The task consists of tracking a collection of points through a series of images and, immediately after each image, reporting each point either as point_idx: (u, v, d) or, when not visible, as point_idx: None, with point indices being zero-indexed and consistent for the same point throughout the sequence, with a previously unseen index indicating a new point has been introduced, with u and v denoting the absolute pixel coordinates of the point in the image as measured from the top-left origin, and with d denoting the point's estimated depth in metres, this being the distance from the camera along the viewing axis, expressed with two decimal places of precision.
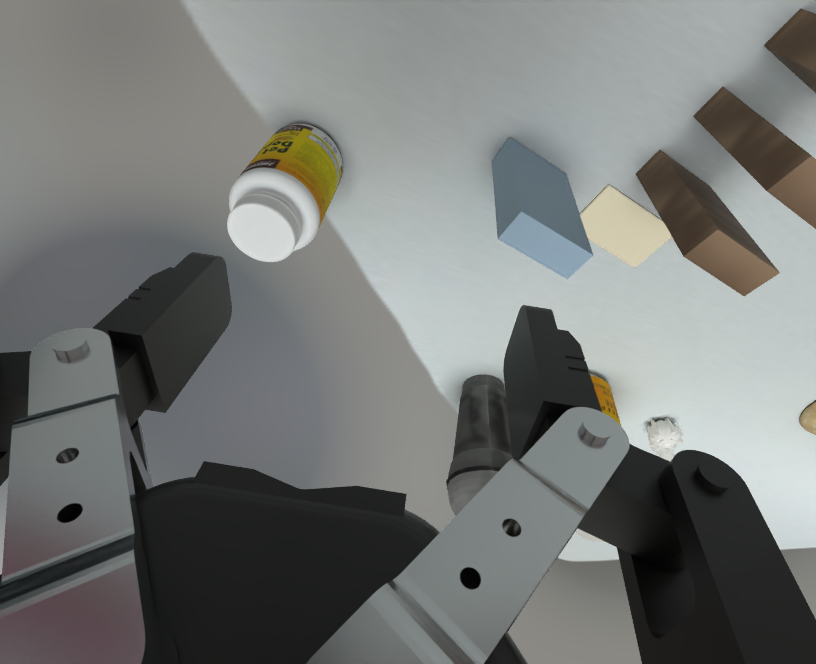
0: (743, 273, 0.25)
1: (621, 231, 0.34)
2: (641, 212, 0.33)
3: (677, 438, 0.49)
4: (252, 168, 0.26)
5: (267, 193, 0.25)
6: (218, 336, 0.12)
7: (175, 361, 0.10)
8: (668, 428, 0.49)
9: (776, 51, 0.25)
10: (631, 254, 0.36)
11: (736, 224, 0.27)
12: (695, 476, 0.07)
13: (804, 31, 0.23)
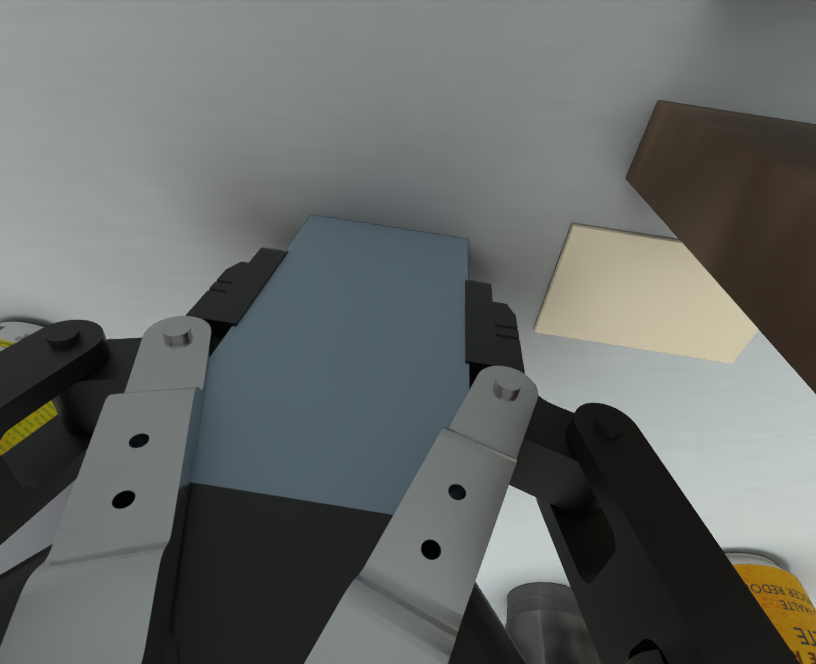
0: None
1: (658, 305, 0.15)
2: (686, 253, 0.13)
3: None
4: None
5: None
6: None
7: None
8: None
9: None
10: (710, 342, 0.15)
11: None
12: (595, 427, 0.08)
13: None
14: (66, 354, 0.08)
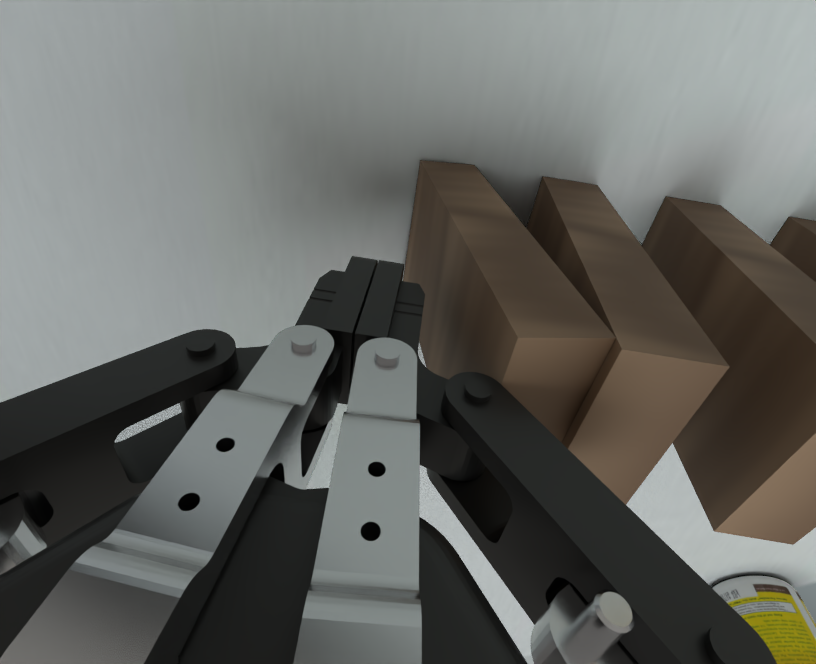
0: None
1: None
2: None
3: None
4: None
5: None
6: None
7: None
8: None
9: None
10: None
11: None
12: (466, 397, 0.08)
13: None
14: (207, 364, 0.08)
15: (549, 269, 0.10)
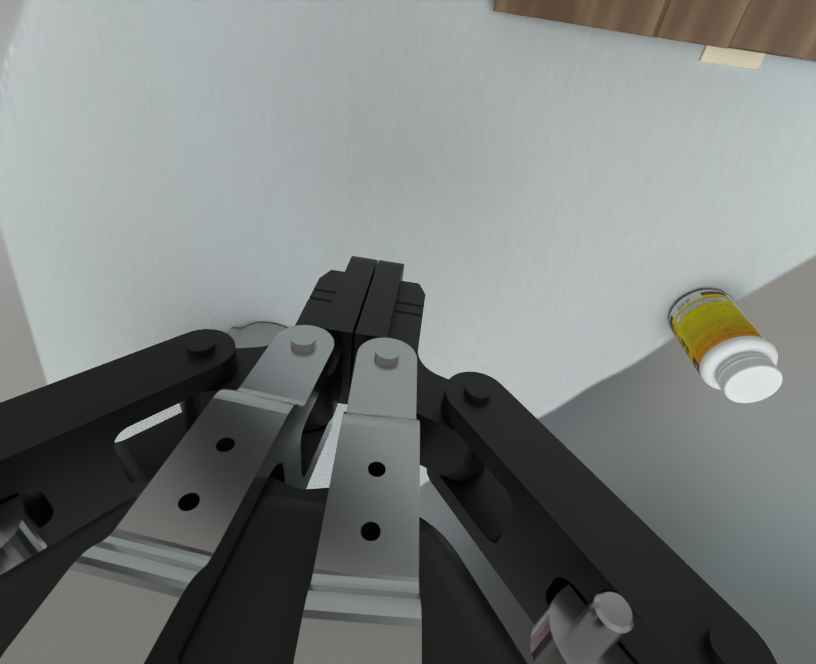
0: None
1: None
2: None
3: None
4: None
5: (717, 376, 0.36)
6: None
7: None
8: None
9: None
10: None
11: None
12: (467, 397, 0.08)
13: None
14: (207, 364, 0.08)
15: None
